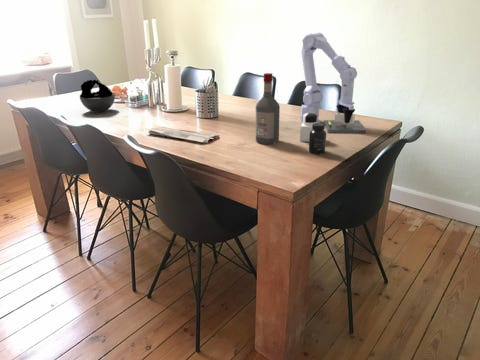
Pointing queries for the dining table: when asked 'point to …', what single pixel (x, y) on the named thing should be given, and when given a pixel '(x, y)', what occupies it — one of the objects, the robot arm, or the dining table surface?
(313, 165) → the dining table surface
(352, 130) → the base
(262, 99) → the liquor
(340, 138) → the dining table surface
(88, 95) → the coal bowl
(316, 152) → the supplement bottle
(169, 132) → the newspaper
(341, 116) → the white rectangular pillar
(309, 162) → the dining table surface
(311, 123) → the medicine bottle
